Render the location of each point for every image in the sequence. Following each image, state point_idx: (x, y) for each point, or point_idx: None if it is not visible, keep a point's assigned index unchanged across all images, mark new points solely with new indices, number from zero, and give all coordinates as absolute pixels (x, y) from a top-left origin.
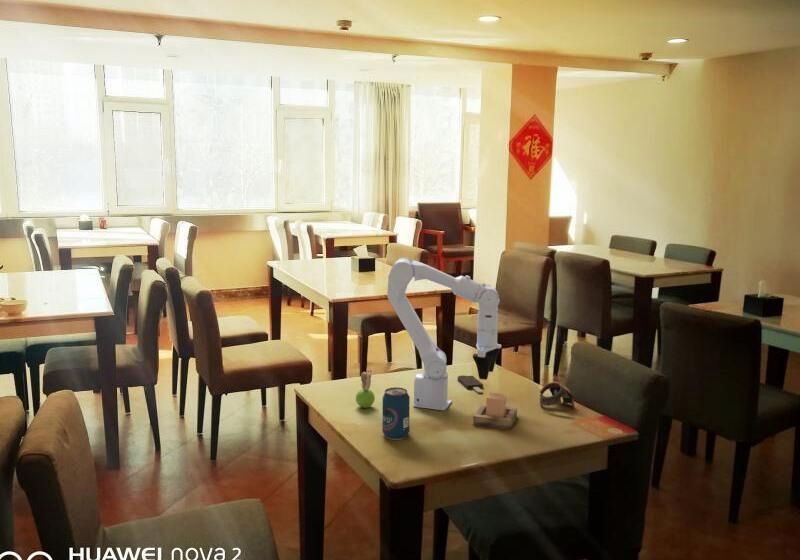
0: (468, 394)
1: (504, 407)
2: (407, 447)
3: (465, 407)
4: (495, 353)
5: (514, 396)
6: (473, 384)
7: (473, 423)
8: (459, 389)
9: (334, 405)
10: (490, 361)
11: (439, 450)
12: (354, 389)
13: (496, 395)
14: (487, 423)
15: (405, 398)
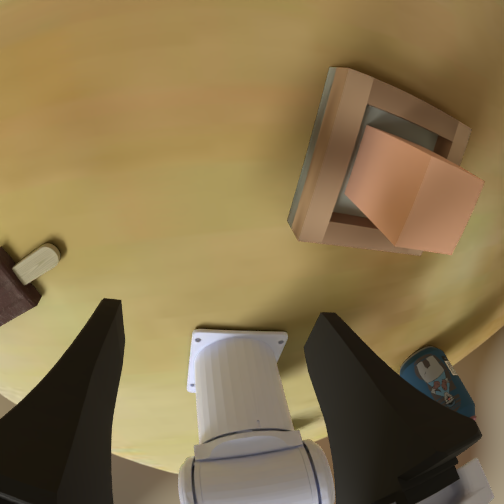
0: (85, 288)
1: (422, 148)
2: (463, 329)
3: (238, 281)
4: (79, 456)
5: (35, 97)
6: (12, 288)
7: None
8: (54, 317)
9: None
10: (463, 415)
11: (491, 283)
12: (177, 452)
13: (436, 211)
14: None
15: (473, 408)
